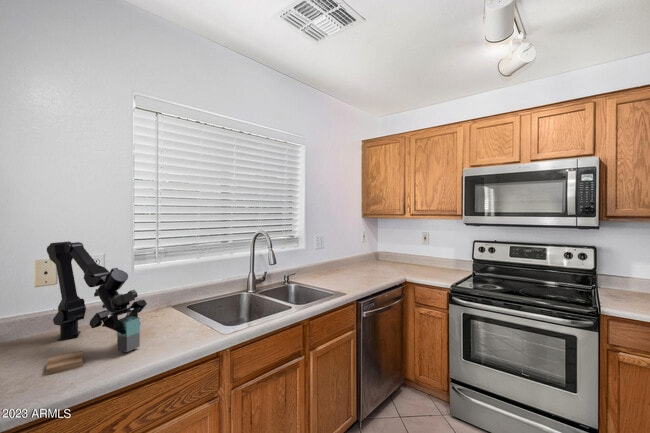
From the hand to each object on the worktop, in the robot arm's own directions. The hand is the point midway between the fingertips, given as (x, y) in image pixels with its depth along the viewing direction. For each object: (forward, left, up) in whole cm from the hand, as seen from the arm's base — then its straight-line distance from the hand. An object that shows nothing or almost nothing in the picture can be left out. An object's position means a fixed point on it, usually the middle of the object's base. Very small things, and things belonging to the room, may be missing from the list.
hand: (131, 330), depth 113 cm
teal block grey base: (-1, -1, -7) cm, 7 cm away
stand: (+1, -19, -8) cm, 20 cm away
